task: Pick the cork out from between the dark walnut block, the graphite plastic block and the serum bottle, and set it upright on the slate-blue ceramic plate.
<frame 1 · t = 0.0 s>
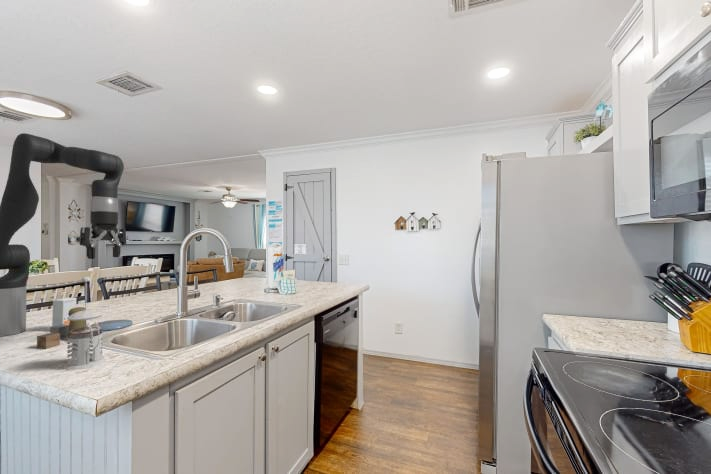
hand: (104, 258, 111), 29 cm above the table, tool pointing down, fingers open, 8 cm apart
walnut block: (48, 346, 107), on the table
cork: (77, 338, 116), on the table
french press: (86, 364, 93), on the table
skincare box: (64, 330, 126), on the table
slate plate: (111, 326, 131), on the table
graphite block: (60, 336, 117), on the table
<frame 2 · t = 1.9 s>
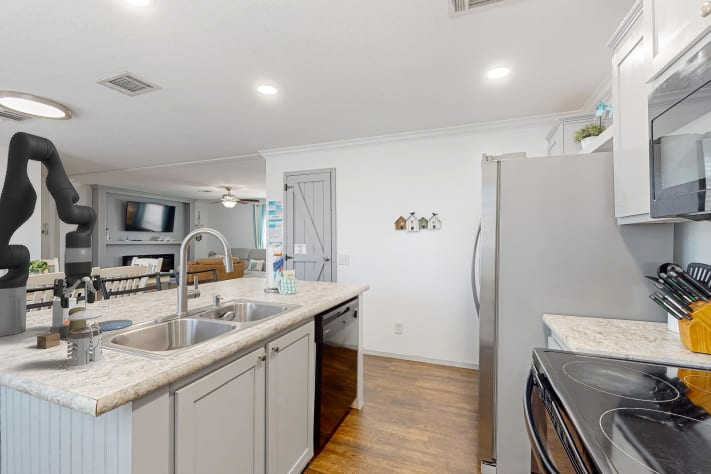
hand: (78, 305, 116), 12 cm above the table, tool pointing down, fingers open, 8 cm apart
nothing on the table moved.
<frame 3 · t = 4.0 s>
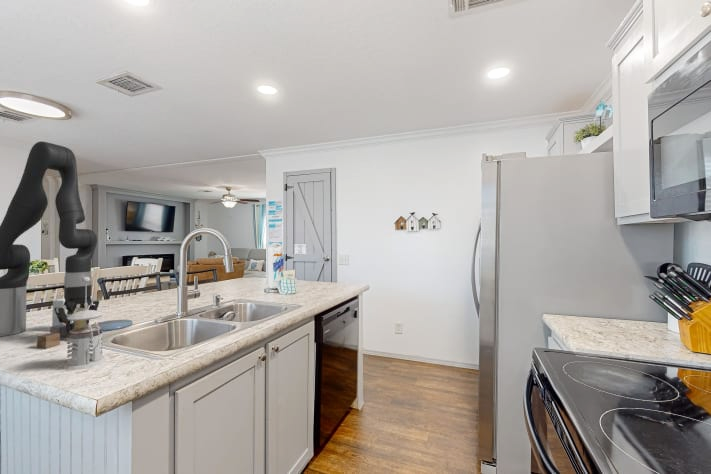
hand: (77, 331, 116), 2 cm above the table, tool pointing down, fingers closed on cork, 4 cm apart
cork: (77, 338, 116), on the table, touching gripper
everything else where it was.
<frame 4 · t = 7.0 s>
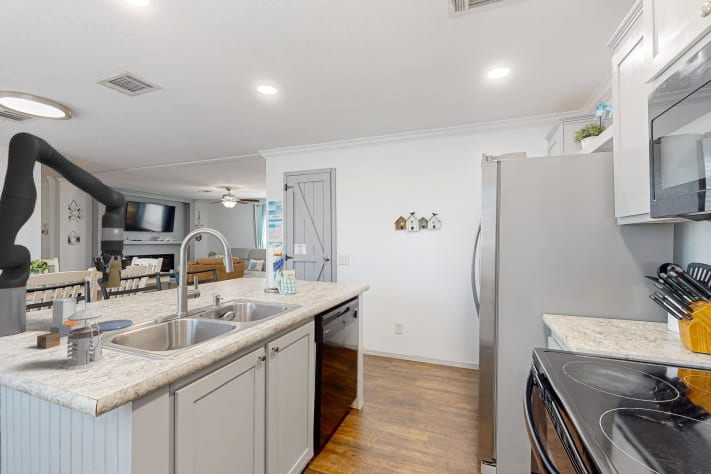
hand: (111, 281, 131), 18 cm above the table, tool pointing down, fingers closed on cork, 4 cm apart
cork: (111, 287, 131), point 16 cm above the table, touching gripper
everything else where it was.
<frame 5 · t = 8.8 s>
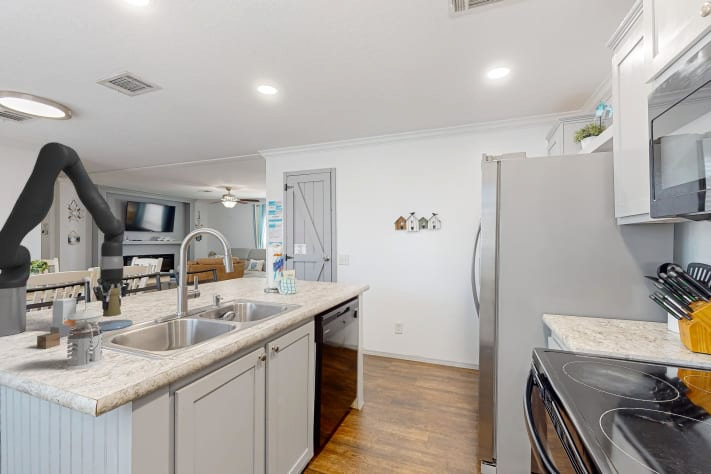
hand: (111, 309, 131), 7 cm above the table, tool pointing down, fingers closed on cork, 4 cm apart
cork: (111, 315, 131), point 5 cm above the table, touching gripper
everything else where it was.
when the fingers open (5 cm above the table, at t = 10.1 s): cork drops 1 cm, resting on slate plate.
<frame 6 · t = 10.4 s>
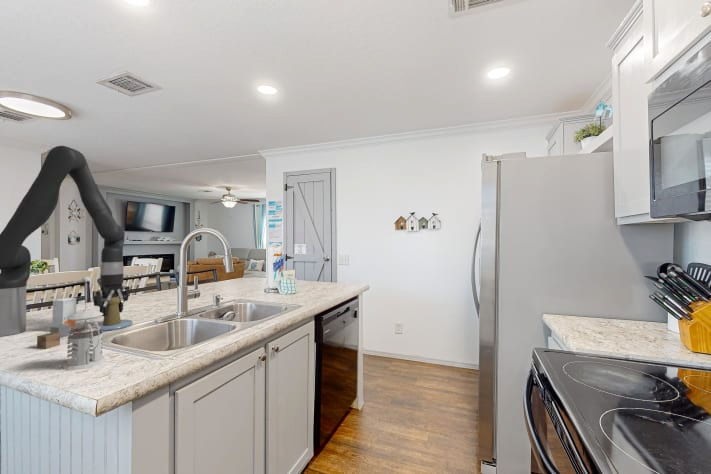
hand: (111, 313, 131), 5 cm above the table, tool pointing down, fingers open, 6 cm apart
cork: (111, 324, 131), point 1 cm above the table, touching slate plate
everything else where it was.
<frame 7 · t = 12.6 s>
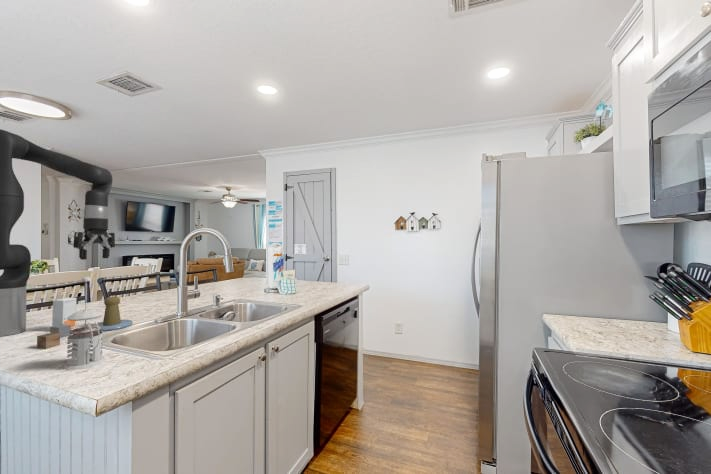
hand: (94, 258, 126), 28 cm above the table, tool pointing down, fingers open, 8 cm apart
nothing on the table moved.
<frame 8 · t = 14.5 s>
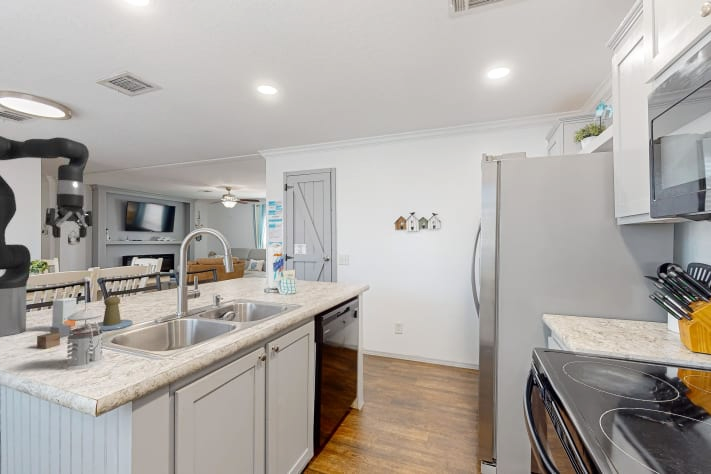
hand: (70, 237, 119), 36 cm above the table, tool pointing down, fingers open, 8 cm apart
nothing on the table moved.
at the end: cork inside the target area on the slate plate (0.2 cm from its centre), point 0.8 cm above the slate plate's base; cork tilted 0°; the gripper is holding nothing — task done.
